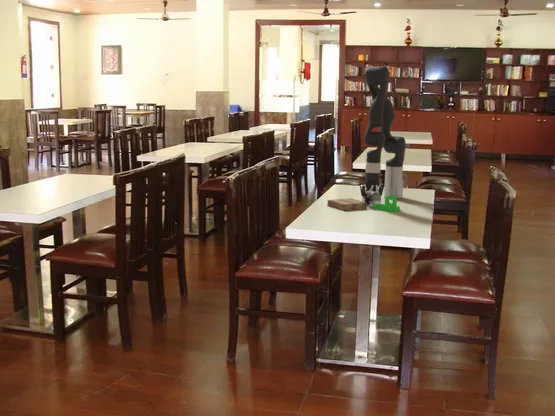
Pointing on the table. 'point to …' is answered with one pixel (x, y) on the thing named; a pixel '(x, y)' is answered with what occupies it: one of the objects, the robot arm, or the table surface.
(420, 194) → the table surface
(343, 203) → the walnut stand
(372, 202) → the block
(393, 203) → the mechanical part
